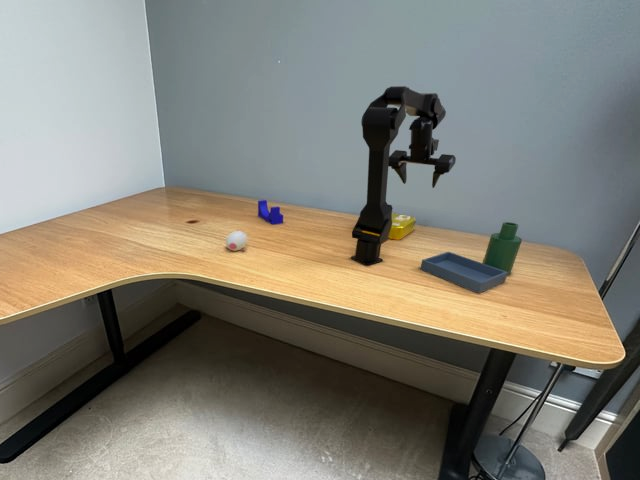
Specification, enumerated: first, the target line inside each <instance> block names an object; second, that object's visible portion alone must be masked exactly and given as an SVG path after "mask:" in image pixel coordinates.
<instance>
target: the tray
mask: <svg viewBox="0 0 640 480" xmlns="http://www.w3.org/2000/svg"><path fill="white" fill-rule="evenodd" d="M419 270H420V271H422V272H426V273H428V274H430V275H432V276H435V277H437V278H440V279H443V280H445V281H447V282H448V283H449V282H450V283H452V284H453V285H457V286H459V287H462V288H464V289H466V290H469V291H471V292H474V293H476V294H481V293H483V292H485V291H488V290H490V289H493V288H494V287H497V286H499V285H501V284H504V283H505V282H506V280H507V277H508V276H507V274H508V272H506V271H503V270H500V269H497V268H494V267H491V266H489V265H486V264H483V262H480V261H477V260H475V259H471V258H469V257H466V256H462V255H460V254H457V253H454V252H451V251H446V252H441V253H440V254H437V255H434V256H429V257H426V258H424V259H422V260H421V263H420V268H419Z"/></svg>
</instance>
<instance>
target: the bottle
mask: <svg viewBox="0 0 640 480" xmlns="http://www.w3.org/2000/svg"><path fill="white" fill-rule="evenodd" d="M518 228H519V224H518V223H515V222H511V221H504V222H502V225H501V228H500V231H499V232H494V233H491V235H490V238H489V241H488V243H487V248H486V251H485V254H484V257H483V261H482V263H483V264H486V265H489V266H491V267H494V268H497V269H500V270H503V271H506V272H508V274H507V277H508V276H510V275H511V273H512V270H513V267H514V264H515V261H516V258H517V256H518V253H519V251H520V247H521V245H522V241H523V238H522V237H519V236H517V235H516V234H517V231H518Z"/></svg>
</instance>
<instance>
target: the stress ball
mask: <svg viewBox="0 0 640 480" xmlns="http://www.w3.org/2000/svg"><path fill="white" fill-rule="evenodd" d="M247 243H248V236H247V235H246V233H244V231H240V230H235V231H232V232H230V233H229V234H228V235H227V237H226V238H225V245H226V246H225V247H226V248H227V249H229V251H230V250H231V251H240V250H242V253H243V252H245V250H244V249H243V248H245V246H246V245H247Z"/></svg>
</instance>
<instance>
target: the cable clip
mask: <svg viewBox="0 0 640 480" xmlns="http://www.w3.org/2000/svg"><path fill="white" fill-rule="evenodd" d="M257 216H258V218H260V219H262V220H264V221H265V222H267V223H269V224H270V225H273V226H274V225H281V224H284V214H282V213H281V207H280V206H271V207H270V210H269V208H268V201H267V199H260V200H257Z"/></svg>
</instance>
